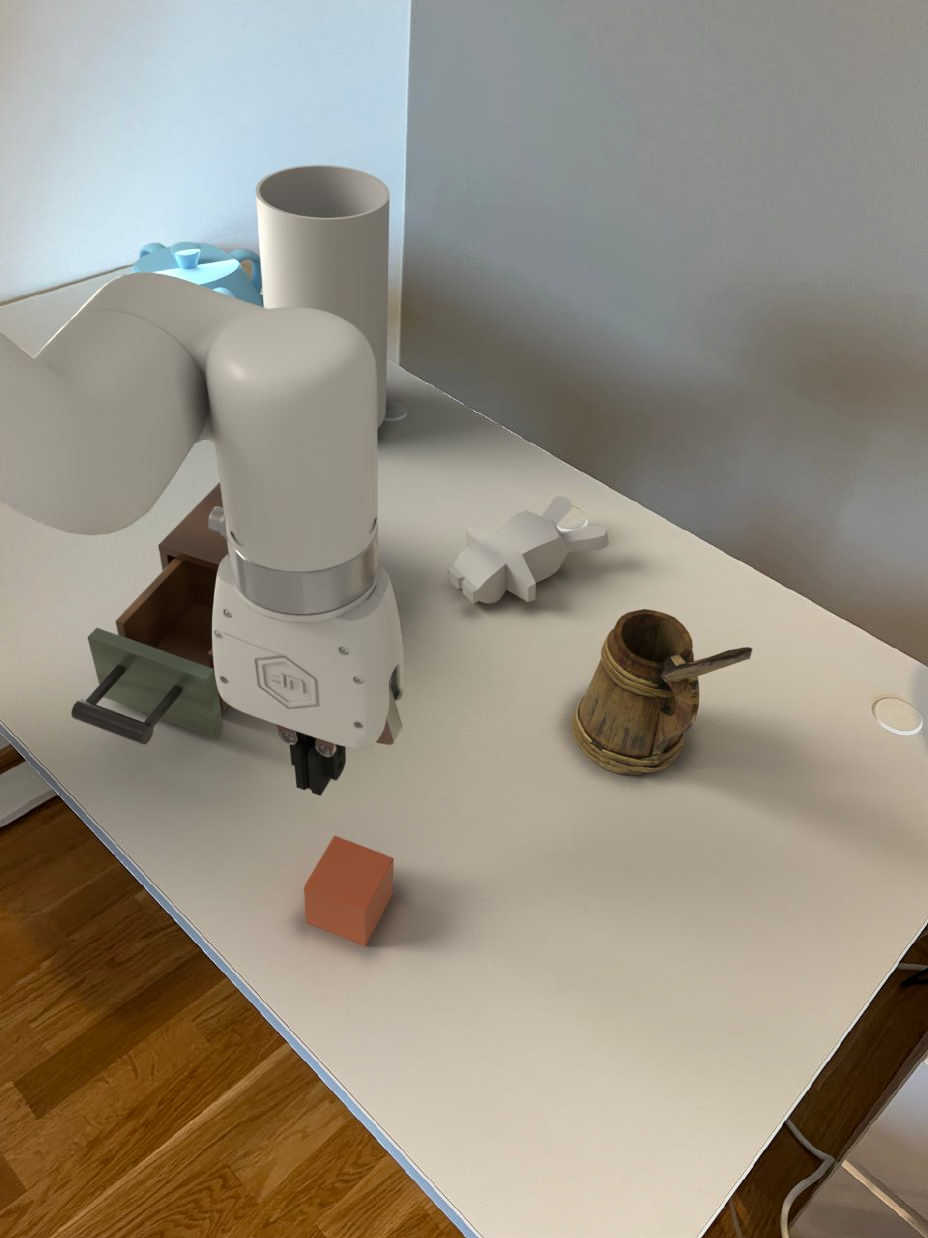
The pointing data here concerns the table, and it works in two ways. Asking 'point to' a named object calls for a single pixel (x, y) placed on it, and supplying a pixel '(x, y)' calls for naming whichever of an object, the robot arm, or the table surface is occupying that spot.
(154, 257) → the decorative pot
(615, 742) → the wooden mug
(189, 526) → the cabinet
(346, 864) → the block
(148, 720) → the drawer
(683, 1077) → the table surface
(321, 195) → the cylinder vase
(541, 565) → the bunny figurine
